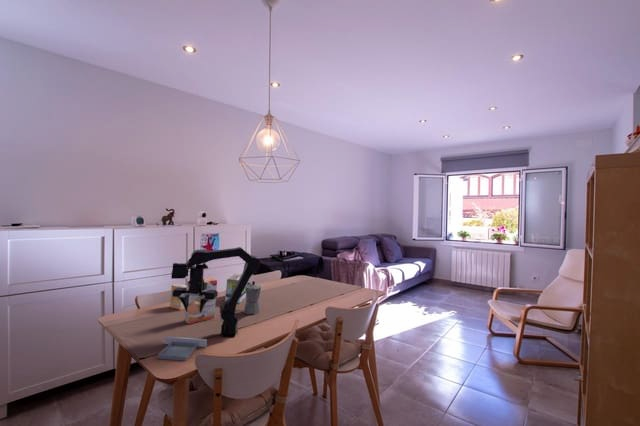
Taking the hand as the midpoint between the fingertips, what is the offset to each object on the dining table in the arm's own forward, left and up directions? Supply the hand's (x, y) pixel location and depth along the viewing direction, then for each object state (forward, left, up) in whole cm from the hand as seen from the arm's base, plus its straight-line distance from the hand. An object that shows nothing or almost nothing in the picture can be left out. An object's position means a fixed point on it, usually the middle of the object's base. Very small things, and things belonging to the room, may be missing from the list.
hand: (194, 311), depth 135 cm
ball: (0, 0, -1) cm, 1 cm away
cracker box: (+5, -21, -12) cm, 24 cm away
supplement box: (+23, -35, -12) cm, 43 cm away
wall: (0, +7, -12) cm, 14 cm away
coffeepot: (-18, -38, -12) cm, 43 cm away
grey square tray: (0, +13, -12) cm, 18 cm away
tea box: (-4, -57, -12) cm, 58 cm away
